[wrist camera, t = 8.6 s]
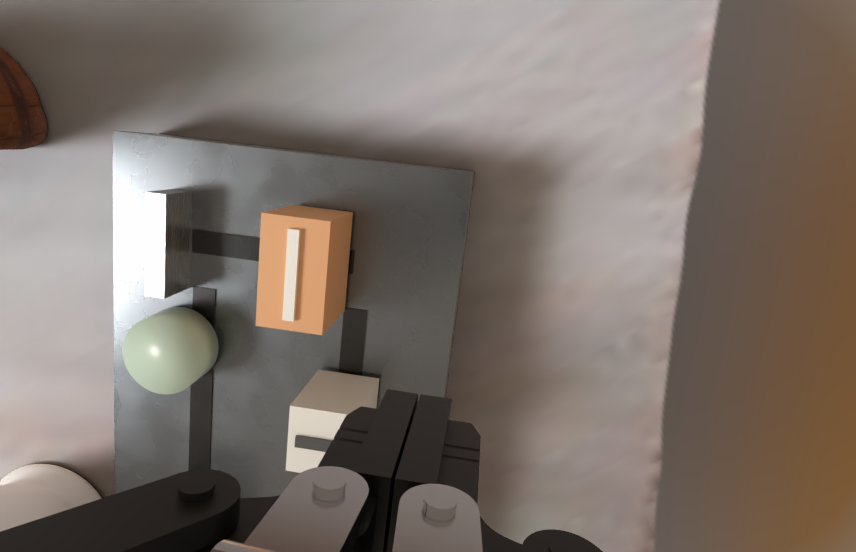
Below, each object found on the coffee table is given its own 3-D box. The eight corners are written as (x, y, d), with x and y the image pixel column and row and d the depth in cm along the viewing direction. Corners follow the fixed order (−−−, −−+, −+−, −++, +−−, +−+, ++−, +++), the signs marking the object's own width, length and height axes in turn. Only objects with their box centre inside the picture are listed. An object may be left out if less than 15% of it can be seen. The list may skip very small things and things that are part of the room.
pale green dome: (145, 373, 31) (122, 388, 29) (146, 301, 30) (122, 312, 28) (217, 384, 30) (198, 400, 28) (219, 312, 30) (201, 323, 28)
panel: (153, 534, 38) (88, 609, 32) (157, 133, 32) (79, 128, 26) (421, 582, 37) (408, 669, 30) (474, 171, 31) (471, 175, 25)
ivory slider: (314, 425, 30) (283, 473, 26) (318, 369, 30) (288, 407, 25) (373, 435, 30) (353, 484, 26) (379, 378, 29) (359, 418, 25)
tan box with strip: (286, 302, 29) (253, 326, 25) (292, 204, 28) (259, 213, 24) (344, 310, 29) (320, 336, 25) (353, 212, 28) (329, 222, 24)
